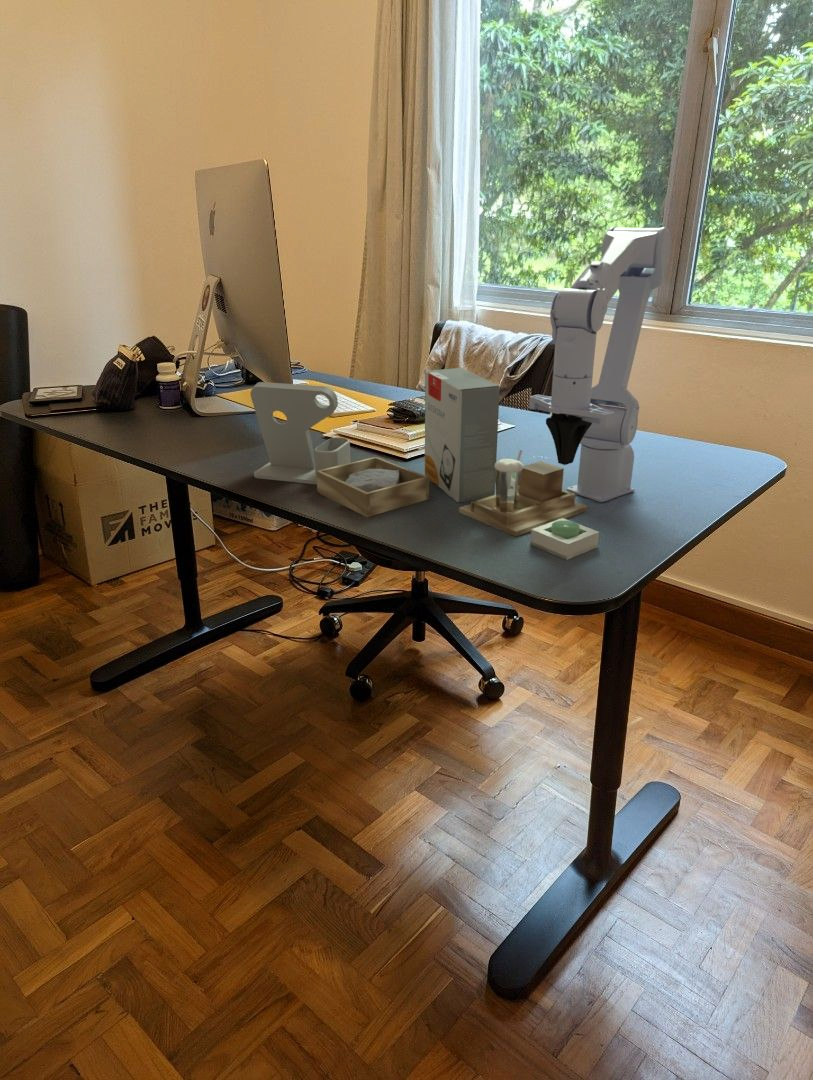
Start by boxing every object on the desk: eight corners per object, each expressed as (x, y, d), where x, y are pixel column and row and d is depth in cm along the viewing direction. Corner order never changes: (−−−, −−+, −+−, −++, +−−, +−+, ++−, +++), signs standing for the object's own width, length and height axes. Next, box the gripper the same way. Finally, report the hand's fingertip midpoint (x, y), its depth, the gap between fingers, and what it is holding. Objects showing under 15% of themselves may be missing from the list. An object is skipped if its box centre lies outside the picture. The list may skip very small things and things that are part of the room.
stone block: (344, 517, 126) (401, 505, 125) (336, 491, 125) (394, 478, 124) (351, 497, 138) (404, 486, 136) (345, 472, 136) (398, 461, 135)
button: (562, 533, 114) (564, 518, 113) (583, 542, 111) (585, 526, 110) (545, 540, 111) (546, 525, 110) (565, 549, 108) (567, 533, 107)
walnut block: (538, 494, 129) (541, 461, 127) (560, 502, 126) (563, 468, 123) (518, 500, 126) (520, 467, 124) (540, 509, 123) (543, 474, 120)
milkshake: (529, 511, 122) (533, 453, 118) (509, 520, 118) (512, 460, 114) (506, 504, 125) (509, 447, 121) (486, 513, 121) (489, 454, 117)
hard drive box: (423, 476, 141) (423, 370, 133) (459, 471, 143) (462, 367, 135) (456, 503, 128) (459, 387, 120) (496, 498, 130) (502, 384, 122)
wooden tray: (376, 477, 141) (376, 456, 139) (428, 499, 130) (429, 477, 128) (317, 492, 133) (316, 470, 131) (367, 517, 122) (366, 494, 121)
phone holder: (356, 470, 145) (353, 377, 137) (336, 487, 136) (331, 388, 128) (275, 462, 149) (268, 371, 142) (250, 477, 141) (241, 382, 133)
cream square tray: (561, 532, 116) (562, 518, 115) (597, 547, 111) (599, 531, 110) (530, 544, 112) (531, 529, 111) (566, 560, 107) (568, 544, 106)
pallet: (529, 490, 134) (530, 477, 133) (586, 510, 124) (588, 497, 123) (458, 512, 124) (459, 498, 123) (515, 536, 115) (516, 522, 114)
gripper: (517, 370, 112) (513, 456, 118) (595, 386, 102) (586, 480, 108) (548, 364, 116) (543, 448, 122) (626, 379, 106) (616, 470, 112)
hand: (565, 462), depth 115 cm, fingers closed
